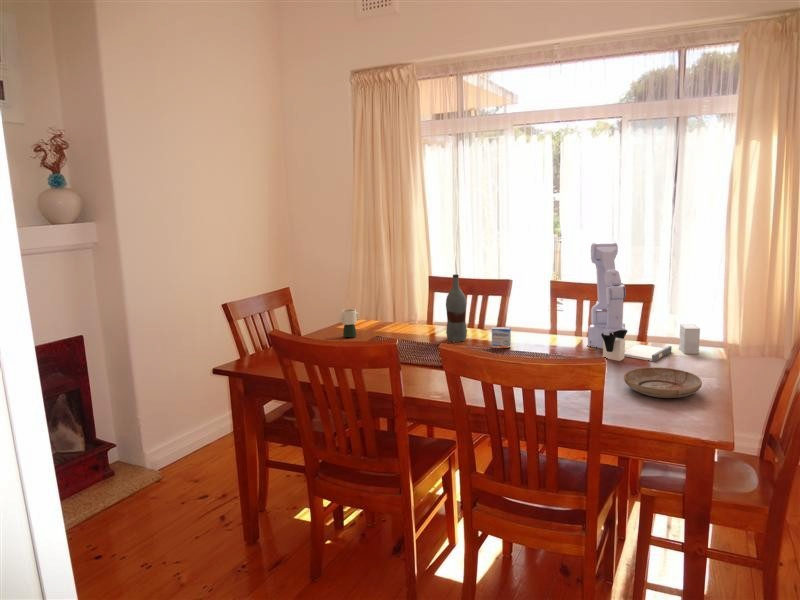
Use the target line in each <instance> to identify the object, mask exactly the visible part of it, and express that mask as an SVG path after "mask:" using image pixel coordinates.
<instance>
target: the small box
mask: <svg viewBox="0 0 800 600" xmlns="http://www.w3.org/2000/svg"><path fill="white" fill-rule="evenodd" d="M700 335H701V328H700V327H698V325H696V324H693V323H691V324H689V323H685V324H684V323H683V324H682V323H681V324H680V325H679V341H678V342H679V346H678V347H679V348H678V349H679V350H680V351H681V352H682V353H683V354H684V355H687V354H688V355H692V354H693V355H694V354H695V355H699V354H700V337H701V336H700Z"/></svg>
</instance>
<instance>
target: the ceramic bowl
mask: <svg viewBox="0 0 800 600" xmlns="http://www.w3.org/2000/svg"><path fill="white" fill-rule="evenodd" d="M623 379H624V383H625V384H626V385H627V386H628V387H629V388H630V389H632V390H633V391H635V392H638V393H640V394H642V395H645V396H649V397H654V398H661V399H662V398H663V399H675V398H683V397H688V396H691V395H693V394H695V393H697V392H698V391H699V390H700V389H701V388H702V384H703V382H702V379H701V377H699V375H696V374H694V373H693V372H689V371H685V370H680V369H676V368H669V367H641V368H634V369H631V370H629V371H627V372H625V374H624V375H623Z"/></svg>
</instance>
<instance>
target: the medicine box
mask: <svg viewBox="0 0 800 600" xmlns="http://www.w3.org/2000/svg"><path fill="white" fill-rule="evenodd" d="M511 331H512V329H511V327H510V326H509V327H507V326H500V327H499V326H492V328H491V346H492V345H493V346H510V345H511V343H512V342H511V341H512V339H511V337H512V334H511ZM511 346H512V345H511Z"/></svg>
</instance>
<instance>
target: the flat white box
mask: <svg viewBox="0 0 800 600" xmlns="http://www.w3.org/2000/svg"><path fill="white" fill-rule="evenodd" d="M668 353H669V354H670V353H672V346H671V345H668V346H666V347H664V348H663V347H658V346H651V345H645V344H636V345H635V346H632V347H630V348H628V349H626V350H625V355H624V357H627V358H631V359H638V360H643V361H648V360H649V361H650V362H656V361H658V360H660V359H661V357H662V358H663V357H665V356H667V355H669V354H668ZM666 354H667V355H666ZM664 355H665V356H664ZM659 358H660V359H659ZM649 361H648V362H649Z"/></svg>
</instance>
